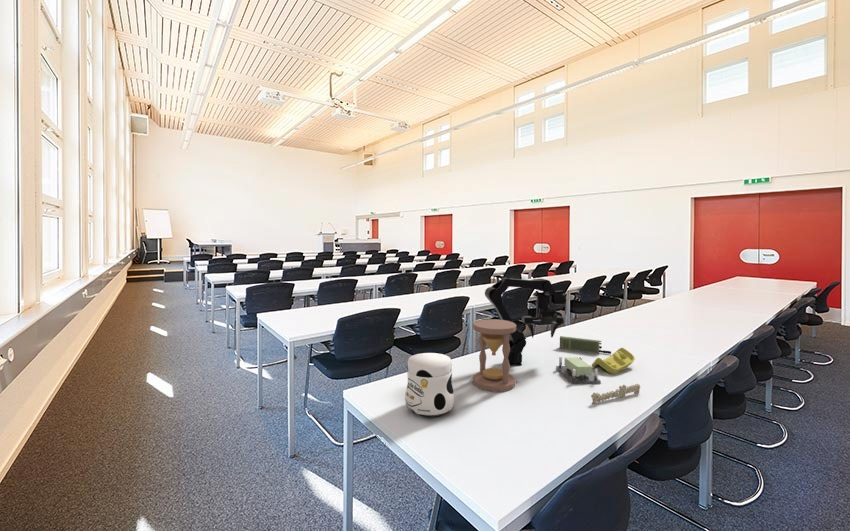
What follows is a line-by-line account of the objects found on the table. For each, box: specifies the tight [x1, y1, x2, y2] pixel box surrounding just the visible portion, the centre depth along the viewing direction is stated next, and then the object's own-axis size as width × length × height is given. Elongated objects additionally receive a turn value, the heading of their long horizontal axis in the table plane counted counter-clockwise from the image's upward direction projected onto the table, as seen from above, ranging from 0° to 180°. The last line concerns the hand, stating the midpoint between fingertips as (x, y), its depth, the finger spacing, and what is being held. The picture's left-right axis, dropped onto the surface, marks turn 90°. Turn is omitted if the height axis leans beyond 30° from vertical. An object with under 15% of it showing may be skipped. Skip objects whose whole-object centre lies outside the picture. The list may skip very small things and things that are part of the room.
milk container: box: [404, 352, 455, 418], centre depth 133 cm, size 17×17×18 cm
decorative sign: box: [590, 383, 641, 405], centre depth 142 cm, size 24×1×5 cm, turn 113°
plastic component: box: [590, 347, 636, 375], centre depth 176 cm, size 20×7×10 cm
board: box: [563, 356, 592, 375], centre depth 165 cm, size 6×12×4 cm, turn 5°
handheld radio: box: [559, 335, 612, 355], centre depth 199 cm, size 7×3×25 cm
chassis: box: [556, 356, 602, 385], centre depth 165 cm, size 12×18×6 cm, turn 0°
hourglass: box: [471, 318, 517, 393], centre depth 156 cm, size 18×18×25 cm
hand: (542, 337), depth 182 cm, fingers open, 9 cm apart
